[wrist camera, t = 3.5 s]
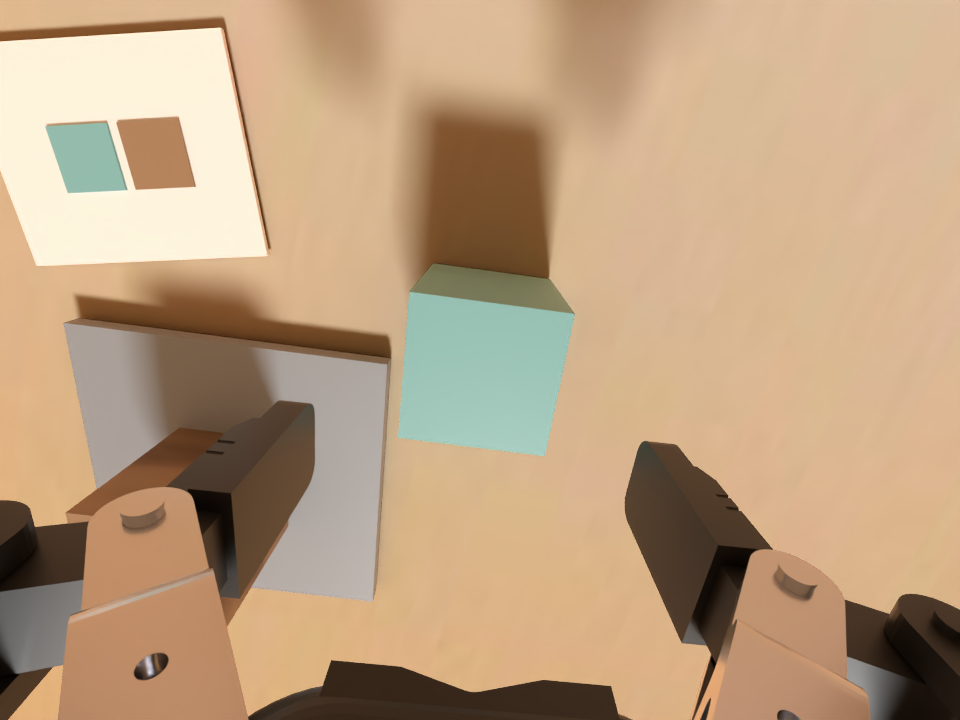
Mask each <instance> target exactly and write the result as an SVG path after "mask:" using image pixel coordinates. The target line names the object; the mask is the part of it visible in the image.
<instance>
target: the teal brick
mask: <svg viewBox="0 0 960 720" xmlns="http://www.w3.org/2000/svg"><path fill="white" fill-rule="evenodd" d="M574 316H575V313H574V312H573V311H572V309H571V308H570V307H569V305H568V304H567V302H566V301H565V300H564V298H563V297H562V295H561V294H560V293H559V291H558V290H557V288H556V287H555V286H554V284H553V283H552V281H551V280H550V279H546V278H539V277H532V276H524V275H517V274H510V273H502V272H495V271H487V270H480V269H473V268H465V267H458V266H451V265H443V264H436V263H433V264H432V265H431V266H430V268H429V269H428V270H427V271H426V272H425V274H424V275H423V276H422V277H421V278H420V280H419V281H418V282H417V283H416V285H415V286H414V287H413V288H412V289H411V291H410V292H409V304H408V317H407V330H406V343H405V356H404V368H403V381H402V394H401V407H400V420H399V433H398V438H404V439H412V440H420V441H428V442H436V443H444V444H452V445H460V446H468V447H476V448H484V449H492V450H500V451H508V452H516V453H524V454H532V455H540V456H545V453H546V448H547V444H548V439H549V434H550V430H551V425H552V420H553V415H554V411H555V406H556V401H557V396H558V392H559V387H560V382H561V377H562V373H563V368H564V363H565V358H566V354H567V349H568V344H569V339H570V335H571V330H572V325H573V320H574Z"/></svg>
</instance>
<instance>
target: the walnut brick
mask: <svg viewBox="0 0 960 720" xmlns="http://www.w3.org/2000/svg"><path fill="white" fill-rule="evenodd" d="M224 434H225V433H220V432H211V431H203V430H195V429H187V428H178V429H177V430H176V431H174V432H173V433H172V434H170V435H169V436H168V437H166V438H165V439H164V440H162V441H161V442H160V443H158V444H157V445H156V446H154V447H153V448H152V449H150V450H149V451H148V452H146V453H145V454H144V455H142V456H141V457H140V458H138V459H137V460H136V461H134V462H133V463H132V464H130V465H129V466H128V467H126V468H125V469H123V470H122V471H121V472H119V473H118V474H117V475H115V476H114V477H113V478H111V479H110V480H109V481H107V482H106V483H105V484H103V485H102V486H101V487H99V488H98V489H97V490H95V491H94V492H93V493H91V494H90V495H89V496H87V497H86V498H85V499H83V500H82V501H81V502H79V503H78V504H77V505H75V506H74V507H73V508H71V509H70V510H69V511H67V512H66V517H67V521H68V524H69V523H78V522H87V521H90V519H91V518H92V516H93V515H94V514H95V513H96V512H97V511H98V510H99V509H101V508H102V507H103V506H105V505H106V504H108V503H109V502H111V501H113V500H115V499H117V498H119V497H121V496H124V495H126V494H129V493H132V492H136V491H139V490H143V489H149V488H157V487H166V486H167V485H168V484H169V483H171V482H172V481H173V480H174V479H175V478H176V477H177V476H178V475H179V474H180V473H182V472H183V471H184V470H185V469H186V468H187V467H188V466H189V465H190V464H192V463H193V462H194V461H195V460H196V459H197V458H198V457H199V456H200V455H202V454H203V453H206V450H207V449H208V448H209V447H210V446H212V445H213V444H214V443H215V442H218V439H219V438H220V437H222V436H223V435H224ZM287 528H288V521H287V522H286V524H285V526H284V527H283V529H282V531H281V532H280V534H279V535H278V537H277V539H276V540H275V542H274V544H273V545H272V547H271V548H270V550H269V552H268V553H267V555H266V557H265V558H264V560H263V562H262V563H261V565H260V566H259V568H258V570H257V571H256V573H255V575H254V576H253V578H252V579H251V581H250V583H249V584H248V586H247V588H246V589H245V591H244V593H243V594H242V596H241V597H240V599H238V598H227V597H220V600H221V604H222V609H223V613H224V617H225V621H226V626H228V624H229V623H230V621H231V619H232V618H233V616H234V614H235V613H236V611H237V610H238V608H239V606H240V605H241V603H242V601H243V600H244V598H245V596H246V595H247V593H248V591H249V590H250V588H251V587H252V585H253V583H254V582H255V580H256V578H257V577H258V575H259V573H260V572H261V570H262V569H263V567H264V565H265V564H266V562H267V560H268V559H269V557H270V555H271V554H272V552H273V550H274V549H275V547H276V546H277V544H278V542H279V541H280V539H281V537H282V536H283V534H284V532H285V531H286V529H287Z"/></svg>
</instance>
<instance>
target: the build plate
mask: <svg viewBox="0 0 960 720" xmlns="http://www.w3.org/2000/svg"><path fill="white" fill-rule="evenodd" d="M64 328H65V333H66V338H67V343H68V348H69V353H70V358H71V363H72V367H73V372H74V377H75V382H76V387H77V392H78V397H79V402H80V407H81V412H82V417H83V422H84V427H85V432H86V437H87V442H88V447H89V452H90V457H91V462H92V467H93V472H94V477H95V482H96V487H97V489H98V488H99V487H101V486H102V485H103V484H105V483H106V482H107V481H109V480H110V479H111V478H113V477H114V476H115V475H117V474H118V473H119V472H121V471H122V470H123V469H125V468H126V467H128V466H129V465H130V464H132V463H133V462H134V461H136V460H137V459H138V458H140V457H141V456H142V455H144V454H145V453H146V452H148V451H149V450H150V449H152V448H153V447H154V446H156V445H157V444H158V443H160V442H161V441H162V440H164V439H165V438H166V437H168V436H169V435H170V434H172V433H173V432H174V431H176V430H177V429H178V428H187V429H195V430H203V431H211V432H220V433H226V432H227V431H228V430H229V429H230V428H232V427H233V426H236V425H238V424H240V423H242V422H244V421H246V420H249V419H251V418H261V417H262V416H263V415H264V414H265V413H266V412H267V411H268V410H269V409H270V408H271V407H272V406H273V405H274V404H275V403H276V402H277V401H279V400H284V401H293V402H302V403H311V404H312V405H313V407H314V411H315V466H314V472H313V476H312V479H311V482H310V484H309V486H308V488H307V490H306V491H305V493H304V495H303V496H302V498H301V500H300V501H299V503H298V504H297V506H296V508H295V509H294V511H293V513H292V514H291V516H290V517H289V519H288V528H287V529H286V531H285V532H284V534H283V536H282V537H281V539H280V541H279V542H278V544H277V546H276V547H275V549H274V550H273V552H272V554H271V555H270V557H269V559H268V560H267V562H266V564H265V565H264V567H263V569H262V570H261V572H260V573H259V575H258V577H257V578H256V580H255V582H254V583H253V585H252V587H251V588H259V589H267V590H276V591H285V592H293V593H302V594H311V595H319V596H328V597H337V598H345V599H354V600H363V601H371V602H373V598H374V595H375V591H376V582H377V567H378V551H379V536H380V520H381V505H382V489H383V474H384V458H385V443H386V427H387V412H388V396H389V381H390V366H391V358H385V357H377V356H369V355H361V354H354V353H346V352H338V351H330V350H323V349H315V348H307V347H299V346H292V345H284V344H276V343H268V342H261V341H253V340H245V339H237V338H230V337H222V336H214V335H206V334H199V333H191V332H183V331H175V330H167V329H160V328H152V327H144V326H136V325H129V324H121V323H113V322H105V321H98V320H90V319H82V318H78V319H75V320H72V321H68V322H65V323H64Z"/></svg>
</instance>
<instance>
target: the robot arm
mask: <svg viewBox="0 0 960 720" xmlns="http://www.w3.org/2000/svg"><path fill="white" fill-rule="evenodd" d="M314 466H315V411H314V407H313V405H312V404H311V403H302V402H293V401H284V400H279V401H277V402H276V403H275V404H274V405H273V406H272V407H271V408H270V409H269V410H268V411H267V412H266V413H265V414H264V415H263V416H262V417H261V418H251V419H249V420H246V421H244V422H242V423H240V424H238V425H236V426H233V427H232V428H230V429H229V430H228V431H227V432H226V433H225V434H224V435H223V436H222V437H220V438H219V439H218V442H215V443H214V444H213V445H212V446H210V447H209V448H208V449H207V450H206V453H203V454H202V455H200V456H199V457H198V458H197V459H196V460H195V461H194V462H193V463H192V464H190V465H189V466H188V467H187V468H186V469H185V470H184V471H183V472H182V473H180V474H179V475H178V476H177V477H176V478H175V479H174V480H173V481H172V482H171V483H169V484H168V485H167V486H166V487H157V488H149V489H143V490H139V491H136V492H132V493H129V494H126V495H124V496H121V497H119V498H117V499H115V500H113V501H111V502H109V503H108V504H106V505H105V506H103V507H102V508H101V509H99V510H98V511H97V512H96V513H95V514H94V515H93V516H92V518H91V519H90V521H87V522H78V523H69V524H60V525H51V526H41V527H35V526H34V522H33V519H32V515H31V511H30V508H29V507H28V506H27V505H25V504H23V503H20V502H17V501H7V500H0V720H8V719H9V718H10V717H11V715H12V714H13V713H14V712H15V711H16V710H17V708H18V707H19V706H20V705H21V704H22V703H23V701H24V700H25V699H26V698H27V697H28V696H29V694H30V693H31V692H32V691H33V690H34V689H35V687H36V686H37V685H38V684H39V683H40V681H41V680H42V679H43V678H44V677H45V676H46V674H47V673H48V672H49V671H50V670H51V669H52V667H54V666H59V665H63V675H62V685H61V695H60V705H59V714H58V720H631V719H629V718H627V717H625V716H623V715H620V714H618V711H617V708H616V704H615V700H614V696H613V692H612V688H611V686H602V685H592V684H581V683H570V682H559V681H548V680H541V681H535V682H530V683H525V684H519V685H514V686H509V687H503V688H498V689H493V690H487V691H482V692H468V691H464V690H462V689H459V688H456V687H454V686H451V685H448V684H446V683H443V682H440V681H438V680H435V679H432V678H430V677H427V676H424V675H422V674H419V673H416V672H414V671H411V670H408V669H405V668H403V667H397V666H386V665H376V664H365V663H354V662H343V661H332V660H331V663H330V666H329V669H328V672H327V675H326V678H325V681H324V684H323V686H321V687H316V688H311V689H307V690H304V691H301V692H297V693H294V694H291V695H289V696H287V697H284V698H282V699H280V700H277V701H275V702H273V703H271V704H269V705H267V706H266V707H264V708H262V709H260V710H258V711H256V712H255V713H253V714H252V715H250V716H249V717H248V715H247V711H246V706H245V702H244V698H243V694H242V689H241V685H240V681H239V677H238V672H237V668H236V664H235V660H234V655H233V651H232V647H231V643H230V638H229V634H228V630H227V626H226V621H225V617H224V613H223V609H222V604H221V600H220V597H227V598H238V599H240V597H241V596H242V594H243V593H244V591H245V589H246V588H247V586H248V584H249V583H250V581H251V579H252V578H253V576H254V575H255V573H256V571H257V570H258V568H259V566H260V565H261V563H262V562H263V560H264V558H265V557H266V555H267V553H268V552H269V550H270V548H271V547H272V545H273V544H274V542H275V540H276V539H277V537H278V535H279V534H280V532H281V531H282V529H283V527H284V526H285V524H286V522H287V521H288V519H289V517H290V516H291V514H292V513H293V511H294V509H295V508H296V506H297V504H298V503H299V501H300V500H301V498H302V496H303V495H304V493H305V491H306V490H307V488H308V486H309V484H310V482H311V479H312V476H313V472H314ZM625 514H626V518H627V521H628V524H629V526H630V528H631V530H632V533H633V535H634V537H635V539H636V542H637V544H638V546H639V548H640V551H641V553H642V555H643V557H644V560H645V562H646V564H647V566H648V568H649V571H650V573H651V575H652V577H653V580H654V582H655V584H656V586H657V589H658V591H659V593H660V595H661V598H662V600H663V602H664V604H665V607H666V609H667V611H668V613H669V615H670V618H671V620H672V622H673V624H674V627H675V629H676V631H677V633H678V636H679V638H680V640H681V642H682V643H686V644H697V645H707V647H708V649H709V651H710V653H711V655H710V657H709V660H708V662H707V665H706V667H705V670H704V674H703V677H702V680H701V683H700V687H699V690H698V693H697V697H696V700H695V703H694V706H693V710H692V713H691V716H690V720H960V610H959V609H957V608H955V607H953V606H951V605H949V604H946V603H944V602H942V601H939V600H936V599H934V598H930V597H927V596H923V595H918V594H905V595H902V596H901V597H900V598H899V599H898V601H897V602H896V604H895V606H894V608H893V609H892V611H891V613H890V614H887V613H884V612H881V611H878V610H875V609H872V608H869V607H866V606H863V605H860V604H857V603H853V602H850V601H847V600H844V597H843V595H842V593H841V591H840V590H839V588H838V587H837V586H836V585H835V584H834V582H833V581H832V580H831V579H829V578H828V577H827V576H826V575H825V574H824V573H822V572H821V571H820V570H818V569H817V568H815V567H814V566H812V565H811V564H809V563H807V562H806V561H804V560H802V559H800V558H798V557H795V556H793V555H790V554H787V553H784V552H781V551H776V550H773V549H772V548H771V547H770V545H769V544H768V543H767V542H766V541H765V539H764V538H763V537H762V536H761V534H760V533H759V532H758V531H757V530H756V528H755V527H754V526H753V525H752V524H751V522H750V521H749V520H748V519H747V518H746V516H745V515H744V514H743V513H742V512H741V511H739V510H738V507H737V505H736V504H735V503H734V502H733V501H732V499H731V498H728V495H727V493H726V492H725V491H724V490H723V489H722V487H721V486H720V485H719V484H718V482H717V481H716V480H714V479H713V478H712V477H710V476H709V475H707V474H706V473H705V472H703V471H702V470H701V469H699V468H698V467H694V466H693V465H692V464H691V462H690V461H689V460H688V459H687V457H686V456H685V455H684V453H683V452H682V451H681V450H680V448H679V447H678V446H677V445H675V444H667V443H658V442H649V441H644V442H642V443H641V445H640V446H639V448H638V451H637V455H636V459H635V463H634V466H633V470H632V474H631V477H630V481H629V485H628V488H627V492H626V496H625Z"/></svg>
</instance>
